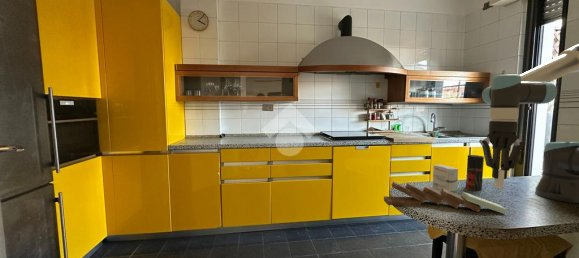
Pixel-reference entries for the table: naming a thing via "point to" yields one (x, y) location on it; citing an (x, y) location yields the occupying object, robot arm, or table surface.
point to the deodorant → (474, 172)
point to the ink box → (445, 178)
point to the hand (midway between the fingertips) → (498, 187)
